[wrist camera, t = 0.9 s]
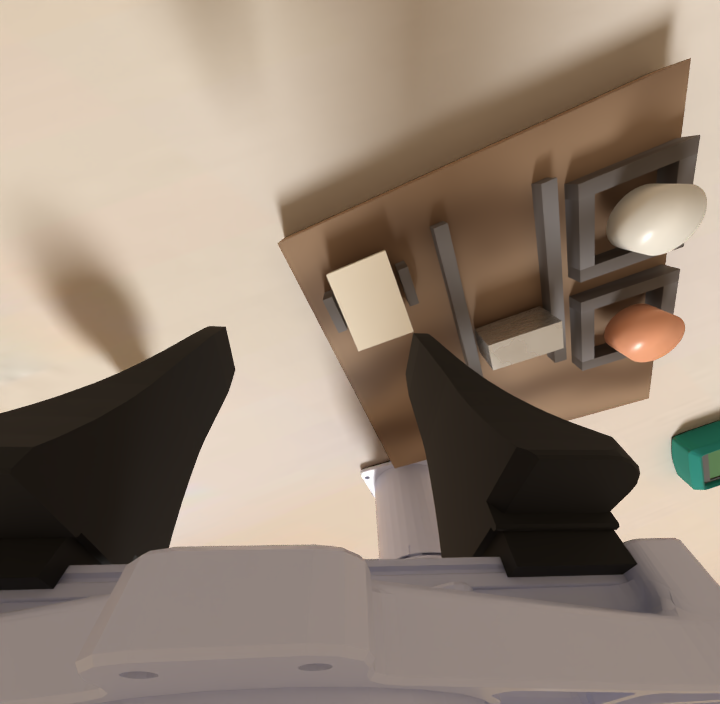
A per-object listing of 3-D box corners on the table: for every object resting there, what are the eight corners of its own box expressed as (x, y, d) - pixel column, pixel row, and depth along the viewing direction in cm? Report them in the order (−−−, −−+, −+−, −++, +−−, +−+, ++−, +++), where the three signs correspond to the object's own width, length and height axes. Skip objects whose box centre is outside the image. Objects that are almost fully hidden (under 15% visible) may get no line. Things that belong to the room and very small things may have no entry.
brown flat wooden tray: (629, 383, 26) (665, 410, 23) (392, 451, 30) (396, 482, 27) (653, 71, 16) (725, 45, 13) (284, 237, 19) (271, 248, 16)
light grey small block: (542, 331, 21) (563, 348, 19) (479, 352, 21) (493, 370, 19) (540, 306, 20) (562, 320, 18) (474, 329, 20) (487, 345, 18)
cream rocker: (411, 325, 19) (413, 331, 18) (359, 344, 20) (358, 351, 18) (384, 249, 18) (385, 250, 16) (329, 272, 18) (325, 275, 17)
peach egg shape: (654, 338, 20) (680, 352, 18) (603, 354, 20) (624, 368, 19) (660, 296, 18) (688, 306, 17) (604, 314, 19) (627, 326, 17)
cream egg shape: (667, 235, 16) (700, 240, 15) (605, 257, 17) (631, 265, 15) (675, 172, 15) (712, 171, 13) (606, 199, 15) (635, 201, 14)
